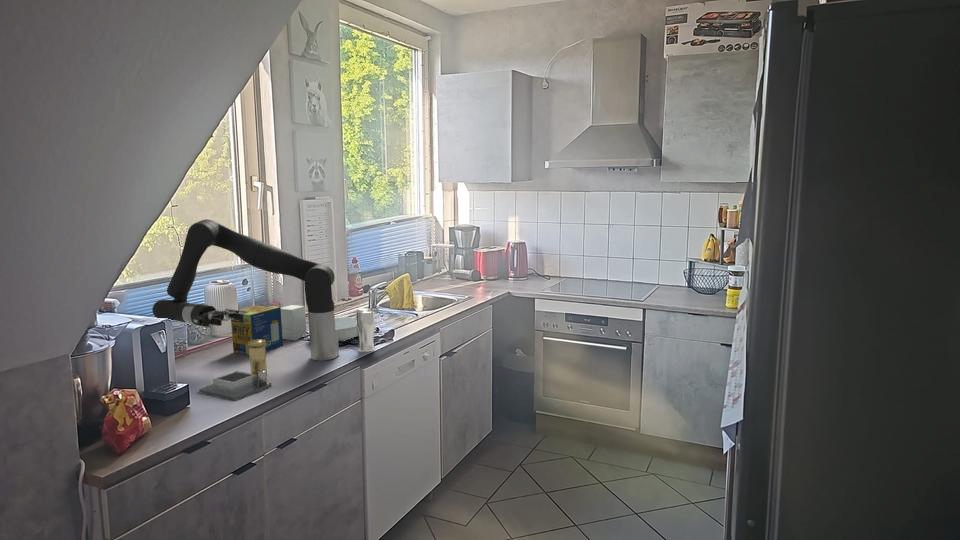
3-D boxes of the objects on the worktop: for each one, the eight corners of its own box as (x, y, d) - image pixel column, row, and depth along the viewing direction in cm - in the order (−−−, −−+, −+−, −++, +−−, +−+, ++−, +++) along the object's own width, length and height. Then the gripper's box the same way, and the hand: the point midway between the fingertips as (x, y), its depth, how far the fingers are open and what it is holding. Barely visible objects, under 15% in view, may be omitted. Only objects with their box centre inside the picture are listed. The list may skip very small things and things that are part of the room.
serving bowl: (370, 332, 264) (370, 316, 263) (356, 347, 244) (355, 329, 243) (321, 332, 266) (320, 316, 265) (303, 346, 246) (302, 329, 245)
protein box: (232, 352, 239) (229, 312, 236) (264, 342, 252) (261, 303, 250) (253, 356, 234) (249, 314, 232) (284, 345, 248) (281, 306, 245)
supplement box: (307, 336, 260) (305, 306, 258) (293, 341, 254) (291, 309, 252) (294, 334, 264) (292, 304, 262) (280, 338, 257) (278, 307, 255)
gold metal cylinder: (260, 373, 215) (257, 338, 213) (272, 375, 212) (269, 340, 210) (246, 377, 210) (243, 342, 208) (258, 380, 207) (255, 344, 205)
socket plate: (236, 378, 209) (235, 364, 208) (271, 386, 201) (270, 371, 200) (199, 392, 197) (197, 376, 196) (234, 400, 189) (233, 384, 188)
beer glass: (353, 350, 239) (351, 310, 237) (368, 346, 244) (367, 307, 242) (364, 353, 234) (362, 313, 232) (379, 349, 239) (377, 310, 237)
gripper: (180, 307, 214) (212, 313, 207) (216, 300, 227) (248, 304, 219) (181, 329, 216) (214, 335, 208) (217, 320, 228) (249, 326, 220)
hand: (231, 319), depth 213 cm, fingers open, 8 cm apart
